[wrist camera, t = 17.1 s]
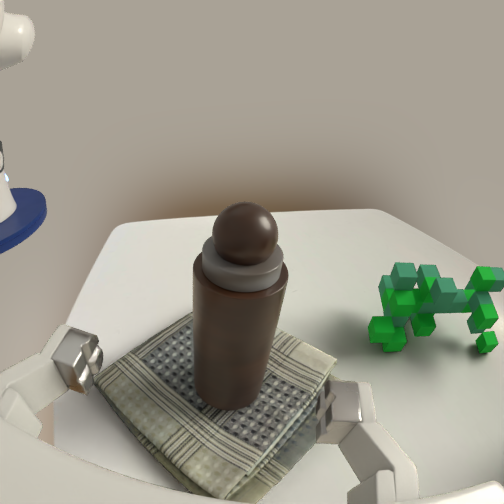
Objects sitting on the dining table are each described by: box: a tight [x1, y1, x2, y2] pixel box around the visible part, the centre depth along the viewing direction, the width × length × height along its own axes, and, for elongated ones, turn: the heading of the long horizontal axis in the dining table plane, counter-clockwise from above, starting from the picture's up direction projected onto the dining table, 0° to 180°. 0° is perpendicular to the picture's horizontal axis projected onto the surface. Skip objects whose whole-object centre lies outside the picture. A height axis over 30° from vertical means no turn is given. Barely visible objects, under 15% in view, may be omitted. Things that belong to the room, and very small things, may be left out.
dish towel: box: [94, 312, 342, 504], centre depth 26 cm, size 19×18×3 cm
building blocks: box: [368, 262, 504, 354], centre depth 33 cm, size 20×13×13 cm, turn 101°
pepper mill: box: [193, 202, 288, 410], centre depth 21 cm, size 6×6×16 cm
